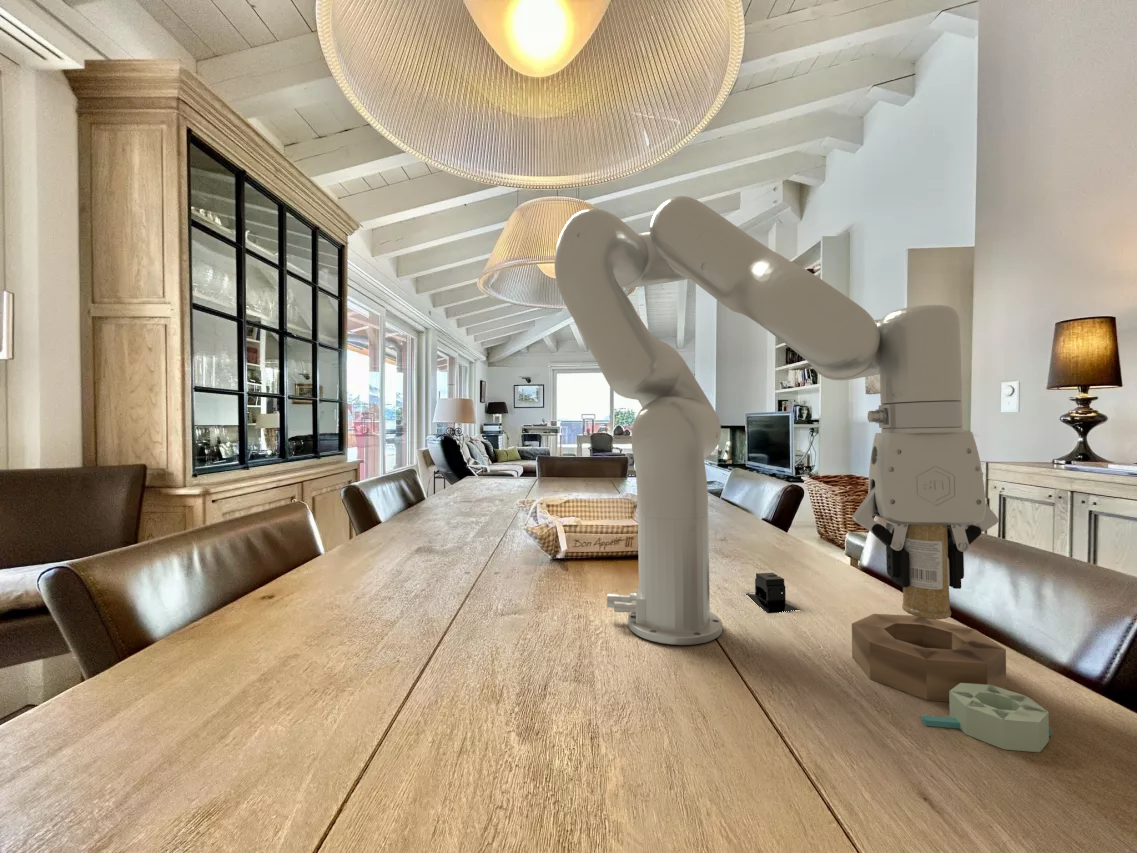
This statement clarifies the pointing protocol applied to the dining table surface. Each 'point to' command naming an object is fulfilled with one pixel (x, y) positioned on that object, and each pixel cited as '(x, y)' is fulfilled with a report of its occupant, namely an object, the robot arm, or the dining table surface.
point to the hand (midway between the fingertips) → (924, 582)
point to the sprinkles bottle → (927, 572)
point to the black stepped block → (771, 593)
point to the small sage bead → (1000, 717)
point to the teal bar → (946, 722)
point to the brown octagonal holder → (925, 655)
